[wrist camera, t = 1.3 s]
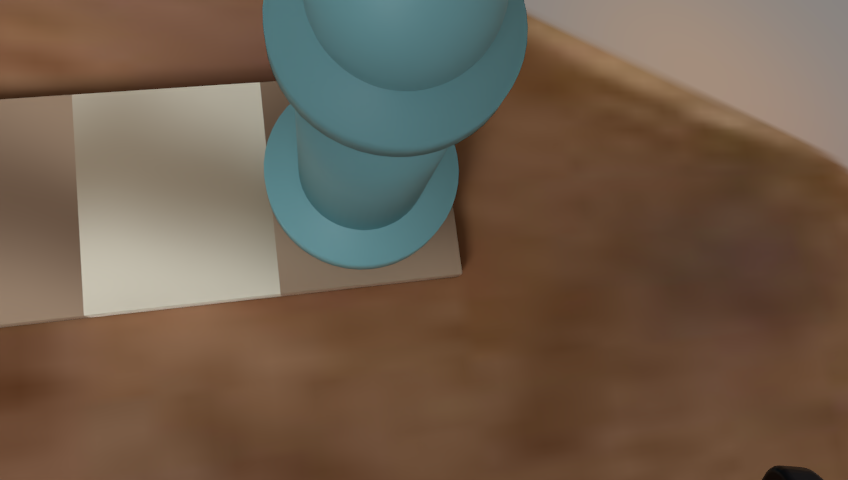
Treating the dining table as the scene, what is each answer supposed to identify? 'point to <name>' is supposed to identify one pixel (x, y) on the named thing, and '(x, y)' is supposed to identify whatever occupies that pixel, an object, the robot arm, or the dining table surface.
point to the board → (157, 207)
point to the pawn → (380, 116)
